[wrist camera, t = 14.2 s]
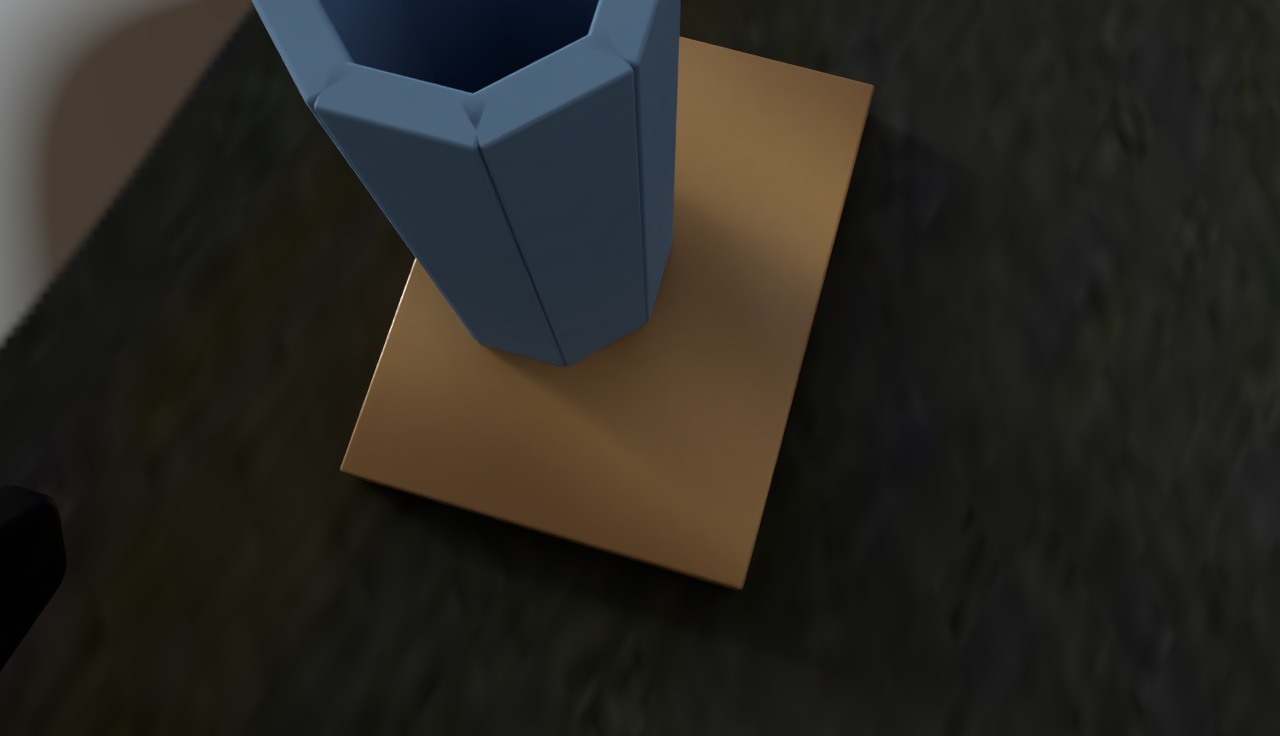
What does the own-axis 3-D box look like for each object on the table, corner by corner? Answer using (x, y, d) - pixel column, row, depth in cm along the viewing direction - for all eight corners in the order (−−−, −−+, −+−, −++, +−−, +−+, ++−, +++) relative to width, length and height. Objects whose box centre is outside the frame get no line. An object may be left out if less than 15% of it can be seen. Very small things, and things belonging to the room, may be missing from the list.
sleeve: (630, 386, 22) (602, 183, 11) (414, 326, 22) (189, 77, 12) (690, 179, 23) (716, -184, 12) (482, 126, 24) (334, -270, 13)
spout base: (738, 591, 22) (756, 589, 18) (354, 477, 23) (287, 451, 19) (865, 108, 25) (906, 11, 21) (516, 20, 25) (487, -92, 21)
